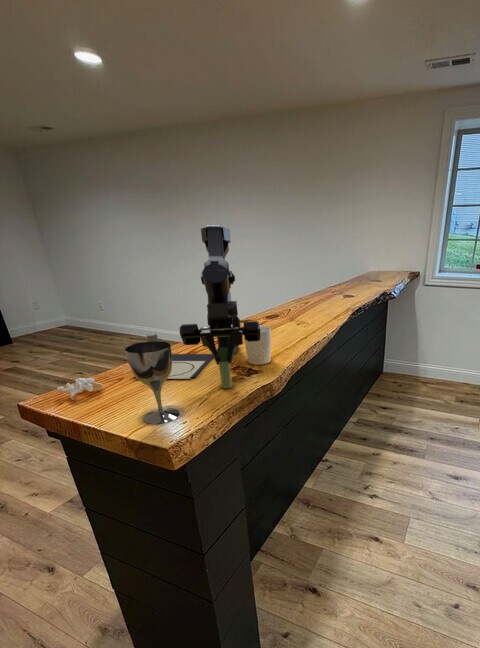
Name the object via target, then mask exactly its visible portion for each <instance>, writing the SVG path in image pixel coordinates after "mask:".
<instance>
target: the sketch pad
mask: <svg viewBox="0 0 480 648" xmlns="http://www.w3.org/2000/svg"><path fill="white" fill-rule="evenodd" d="M212 359H214V357H213V355H212V353H202V354H201V353H172V370H171V373H170V375H169V377H168V378H167V379H166V380H190V379H196V377H197V376H198V375H199V374H200V373H201V372H202V370H203V369H204V368H205V367H206V366H207V365H208V364H209V363H210V362H211V360H212ZM133 379H135V380H138V379H137V378H136V377H135V376H133Z"/></svg>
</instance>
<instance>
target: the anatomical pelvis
mask: <svg viewBox="0 0 480 648" xmlns="http://www.w3.org/2000/svg"><path fill="white" fill-rule="evenodd" d="M74 382H75V384H74V383H72V384H70V383H69V382H67V383H66V384H65V386H66V387H67V388H65V387H64V386H63V385H62V386H59V387H56V390H57V392H59V393H67V394H69V398H70V399H71V400H72V401H74V400H75V399H74V397H75V396H76V395H77V394H81V393H83V392H84V391H87V392H90V393H91V392H93V391H94V389H96V390H97V391H98V392H99V391H100V390H101V389H103V387H104V385H103V383H100V382H96V381H95V379H94V378H92V377H89V378H85V377H82V378H81V377H78V378H76V379H75V381H74ZM63 388H64V389H63Z"/></svg>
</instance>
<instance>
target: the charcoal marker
mask: <svg viewBox="0 0 480 648" xmlns="http://www.w3.org/2000/svg"><path fill="white" fill-rule="evenodd" d="M146 338H147V342H151V341H159V337H158V333H156V332H152V333H146Z"/></svg>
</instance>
